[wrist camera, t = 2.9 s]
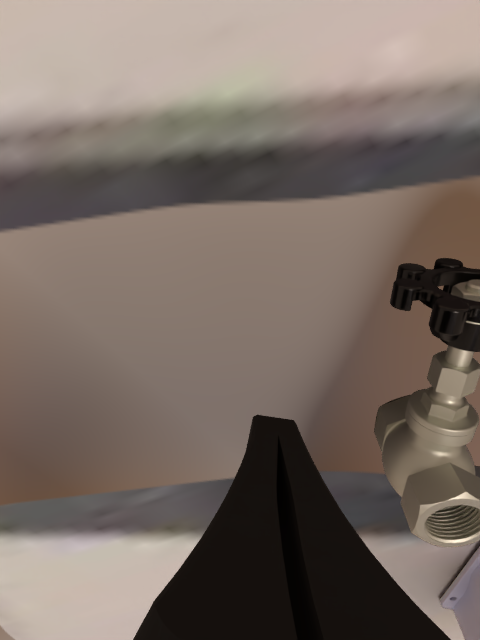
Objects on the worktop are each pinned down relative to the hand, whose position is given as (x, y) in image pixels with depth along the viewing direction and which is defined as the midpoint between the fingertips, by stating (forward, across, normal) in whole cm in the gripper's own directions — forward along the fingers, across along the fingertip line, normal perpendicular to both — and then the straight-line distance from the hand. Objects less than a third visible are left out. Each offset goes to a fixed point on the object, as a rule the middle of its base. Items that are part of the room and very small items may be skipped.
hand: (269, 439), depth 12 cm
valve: (+8, -8, +1) cm, 12 cm away
